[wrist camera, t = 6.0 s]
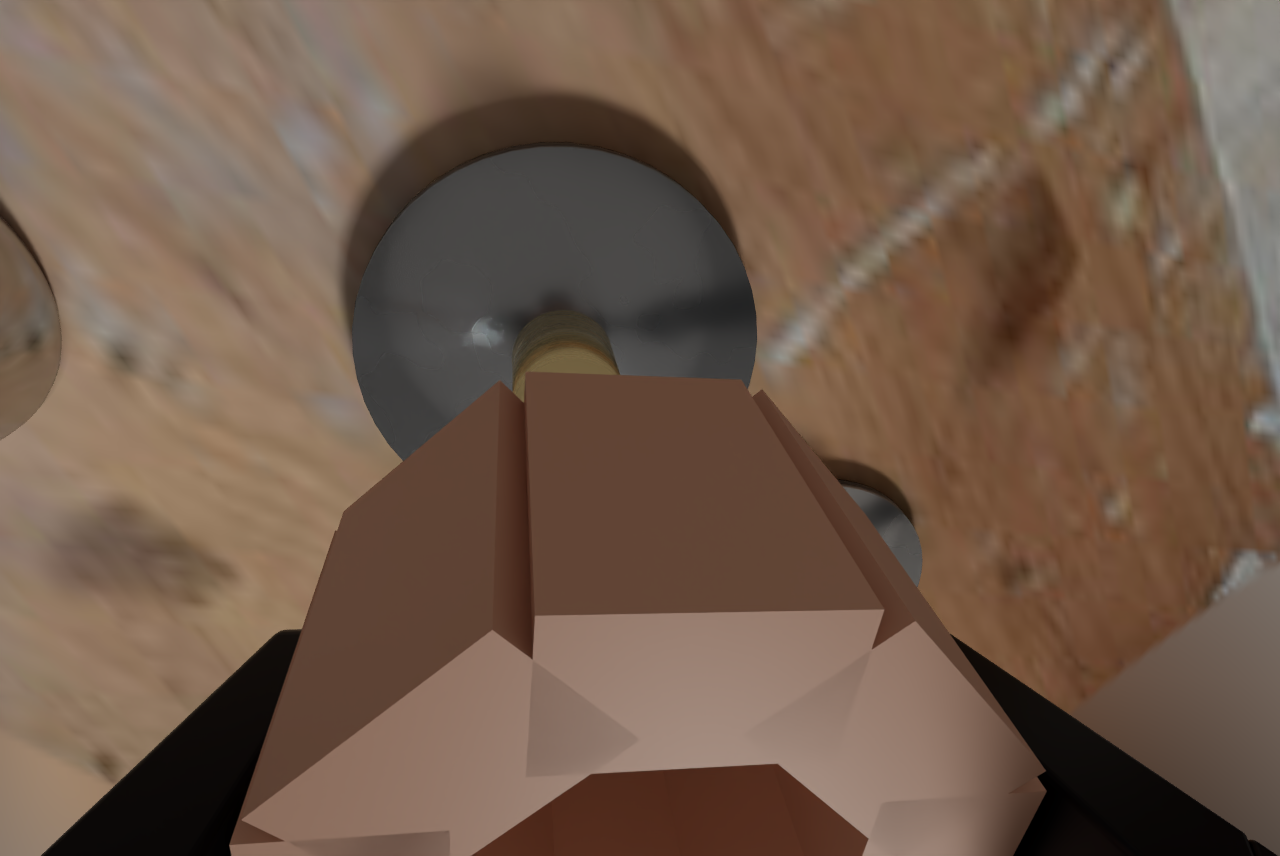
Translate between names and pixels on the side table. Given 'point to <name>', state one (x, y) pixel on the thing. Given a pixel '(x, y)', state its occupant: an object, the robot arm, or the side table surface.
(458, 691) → the octagonal hollow tube
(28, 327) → the beer glass
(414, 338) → the hub
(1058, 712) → the robot arm
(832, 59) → the side table surface
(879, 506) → the metal knobbed lid
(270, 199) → the side table surface
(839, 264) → the side table surface
